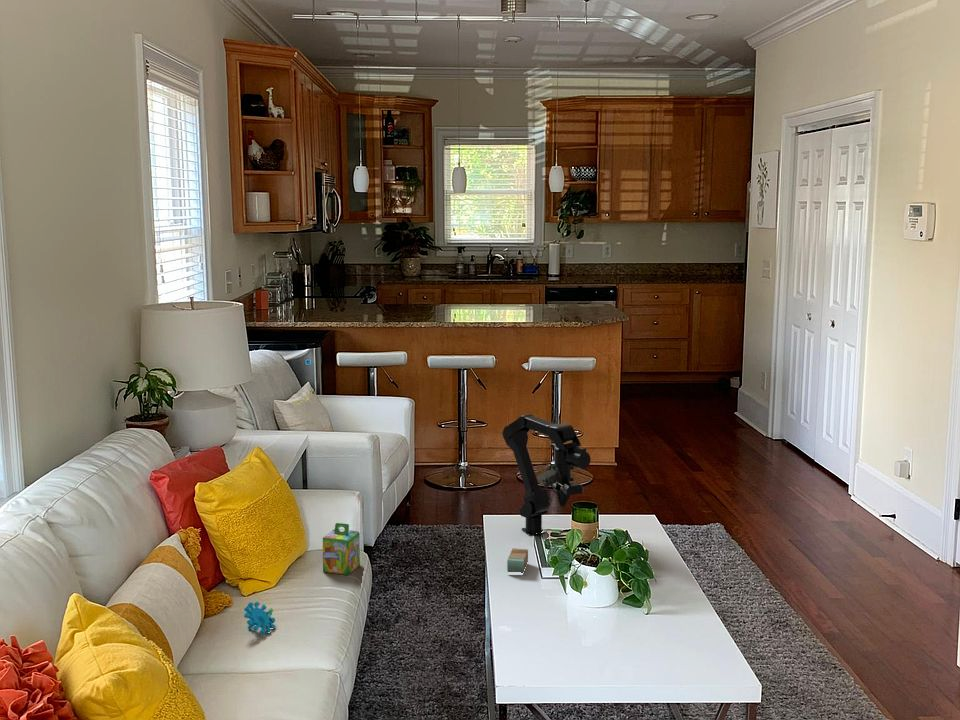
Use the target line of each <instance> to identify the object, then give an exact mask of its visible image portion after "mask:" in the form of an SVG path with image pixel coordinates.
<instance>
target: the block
mask: <svg viewBox="0 0 960 720" xmlns="http://www.w3.org/2000/svg"><path fill="white" fill-rule="evenodd" d="M506 562H507V564H506V567H507V570H506V571H508V572H521V573H523V572H524V569H525V567H526V565H527V562H528V563H529V548H527V549H526V548H516V547H514V548H512V549H511V550H510V554H509V555H508V558H507V561H506ZM527 566H528V565H527Z"/></svg>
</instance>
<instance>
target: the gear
mask: <svg viewBox="0 0 960 720" xmlns="http://www.w3.org/2000/svg"><path fill="white" fill-rule="evenodd" d="M259 606H260V602H258V601H255V602H253V601H252V602H248V604H247V606H245V608H244V609H243V610H244V611H245V613H244V614H243V618H245V619H248V620H246V623H247V629H248V630H249V629H250V628H251V629H252V630H253V631H254V632H258V630H259V628H260V629H261V630H260V631H259V634H261V635H264V634H266V632H270V631H271V629H270V628H274V627H276V625H275V624H274V623H275V622H276V618H275V617H272V615H273V612H274V609H273V608H270V609H268V610H267V611H266V609H267V606H266V605H265V604H262V605H261V607H259ZM251 629H250V630H251ZM274 629H275V628H274Z"/></svg>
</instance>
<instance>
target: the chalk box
mask: <svg viewBox="0 0 960 720" xmlns="http://www.w3.org/2000/svg"><path fill="white" fill-rule="evenodd" d="M341 527H342V528H343V529H341ZM349 528H350V524H348V523H342V522H341V523H340V522H336V523H335V524H334V529H333V530H331V531H329V532H328V533H327V534H326V535H325V536H324V537H322V572H323V573H330V574H338V575H345V576H350V575H351V573H353V572H354V571H355V570H356V569H358V568H359V566H360V565H361V548H360V547H361V544H360V543H361V541H360V539H361V537H360V535H361V534H360V531H357V530H350V529H349Z"/></svg>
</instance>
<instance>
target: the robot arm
mask: <svg viewBox="0 0 960 720" xmlns="http://www.w3.org/2000/svg"><path fill="white" fill-rule="evenodd" d="M531 430H532V431H534V432H537V433H539V434H541V435H544V436H547V437H548V440H549V441H551V442H552V443H551V444H550V445H549V447H550V448H552V449H554V451H553V453H554V457H553V458H554V461H553V464H551V465H550V469H549V470H546V471H544V472H542V473H540V474H539V475H538V476H537V475H536V471H535V469H534V466H533V463H532V460H531V456H530V453H529V450H528V441H529V435H528V433H529V432H530V431H531ZM501 434H502V437H503V439H504V442H505V445H506V446H507V447H508V448H510V450H512V451H513V455H514V458H515V461H516V465H517V467H518V471H519V473H520V476H521V480H522V483H523V486H524V490H525V491H524V495H523V502H524V505H522V506H521V507H520V508H519V509H518V510H519V515H520V517H523V518H525V527H521V530H522V531H523V532H524V533H525V532H526V533H525V534H527V535H528V534H529V535H528V536H533V535H532V534H536V533H541V532H542V531H543V530H544V529H543V527H542V526H543V525H542V524H543V515H547V514H548V511H549V509H550V505H551V503H550V500H551V498H550V497H549V493H548V490H547V488H550V487H551V488H552V489H553V490H554V491H555V492H556V495H557V499H558V502H559V505H560V507H561V508H565V506H566V505H567V503H568V500H569V499H570V497H571V496H572V495H573V496H574V495H580V494H584V486H583V485H582V484H580V483H579V482H576V481H574V479H575V478H574V477H573V476H572V470H574V469H575V468H578V469H580V470H586V469H587V468H588V467H589V466H590V464H591V455H590V453H588V451H587V448H586V447H582V444H581V441H580V439H579V437H578V435H577V433H576V431H575V429H574V427H573V426H572V425H571V424H567V423H554V422H551V421H548V420H545V419H542V418H540V417H537V416H535V415H534V414H532V413H531V414H530V413H528V414H524V415H523V414H522V415H520V416H519V417H518V418H517V419H516V420H514V421H513V422H511V423H510V424H509V423H508V425H506V426H504V427H503V430H502V432H501ZM539 484H540V485H539ZM541 486H542V487H543V488H544V489H543V488H542V487H541ZM536 535H537V534H536Z"/></svg>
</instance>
